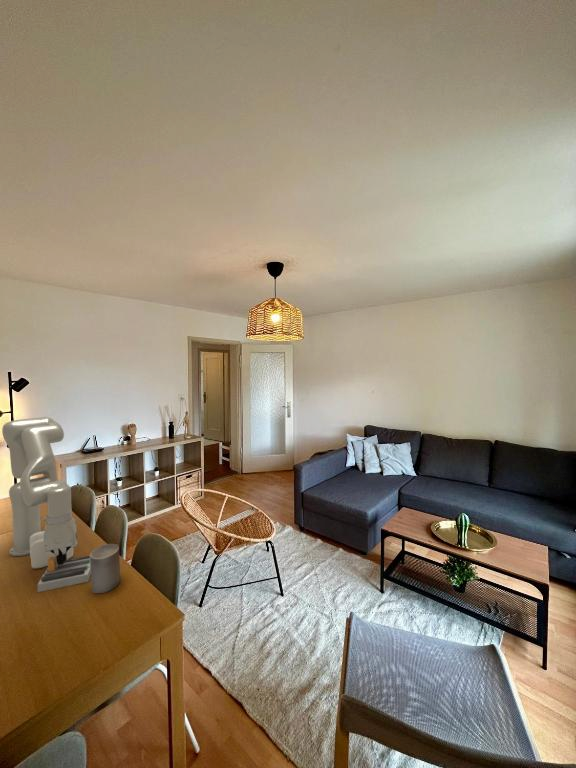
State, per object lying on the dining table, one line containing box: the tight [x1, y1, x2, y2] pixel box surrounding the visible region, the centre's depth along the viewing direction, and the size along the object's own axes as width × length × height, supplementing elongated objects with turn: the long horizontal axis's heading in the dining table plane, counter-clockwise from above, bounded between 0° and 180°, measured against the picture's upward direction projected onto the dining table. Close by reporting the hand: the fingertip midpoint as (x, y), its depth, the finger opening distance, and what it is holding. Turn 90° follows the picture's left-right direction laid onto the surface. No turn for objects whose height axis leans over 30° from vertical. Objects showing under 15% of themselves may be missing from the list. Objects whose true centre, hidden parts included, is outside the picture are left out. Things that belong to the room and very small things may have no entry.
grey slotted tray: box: [37, 554, 91, 593], centre depth 122 cm, size 12×16×5 cm
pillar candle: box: [89, 543, 121, 594], centre depth 117 cm, size 10×10×15 cm
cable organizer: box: [29, 530, 74, 569], centre depth 133 cm, size 15×11×12 cm
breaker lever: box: [46, 556, 58, 572], centre depth 120 cm, size 3×3×6 cm
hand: (61, 562), depth 121 cm, fingers closed
